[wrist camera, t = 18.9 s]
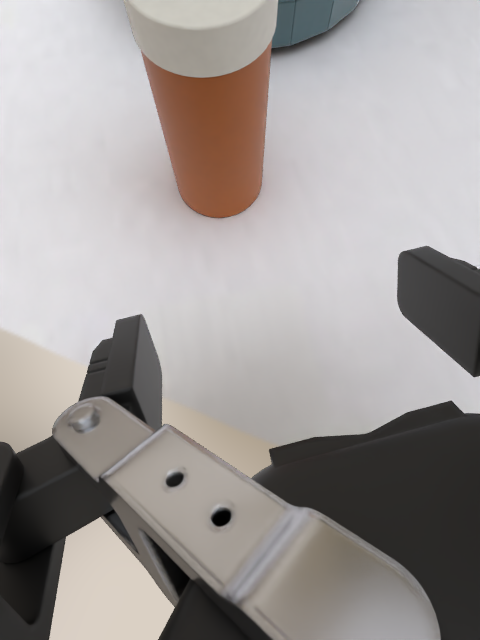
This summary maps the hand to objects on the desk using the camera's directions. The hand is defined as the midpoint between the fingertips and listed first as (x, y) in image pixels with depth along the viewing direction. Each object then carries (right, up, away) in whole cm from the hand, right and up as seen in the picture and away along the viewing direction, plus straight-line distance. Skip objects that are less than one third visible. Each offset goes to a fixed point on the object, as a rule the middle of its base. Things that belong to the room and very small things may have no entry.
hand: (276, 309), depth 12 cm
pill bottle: (-2, +7, +9) cm, 11 cm away
